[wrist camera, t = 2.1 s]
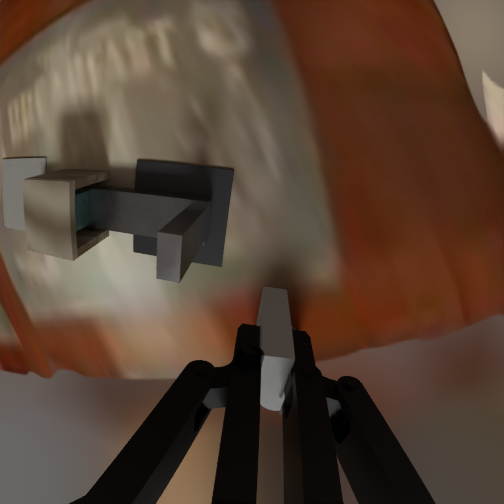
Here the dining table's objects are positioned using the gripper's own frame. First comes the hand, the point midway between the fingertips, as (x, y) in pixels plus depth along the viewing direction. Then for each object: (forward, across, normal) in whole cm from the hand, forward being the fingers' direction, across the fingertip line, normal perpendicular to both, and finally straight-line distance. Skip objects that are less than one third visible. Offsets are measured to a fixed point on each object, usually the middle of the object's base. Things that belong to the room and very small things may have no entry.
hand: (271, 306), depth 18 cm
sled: (+16, -20, 0) cm, 26 cm away
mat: (+17, -39, 0) cm, 43 cm away
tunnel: (+17, -25, 0) cm, 30 cm away
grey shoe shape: (+17, -11, 0) cm, 20 cm away
